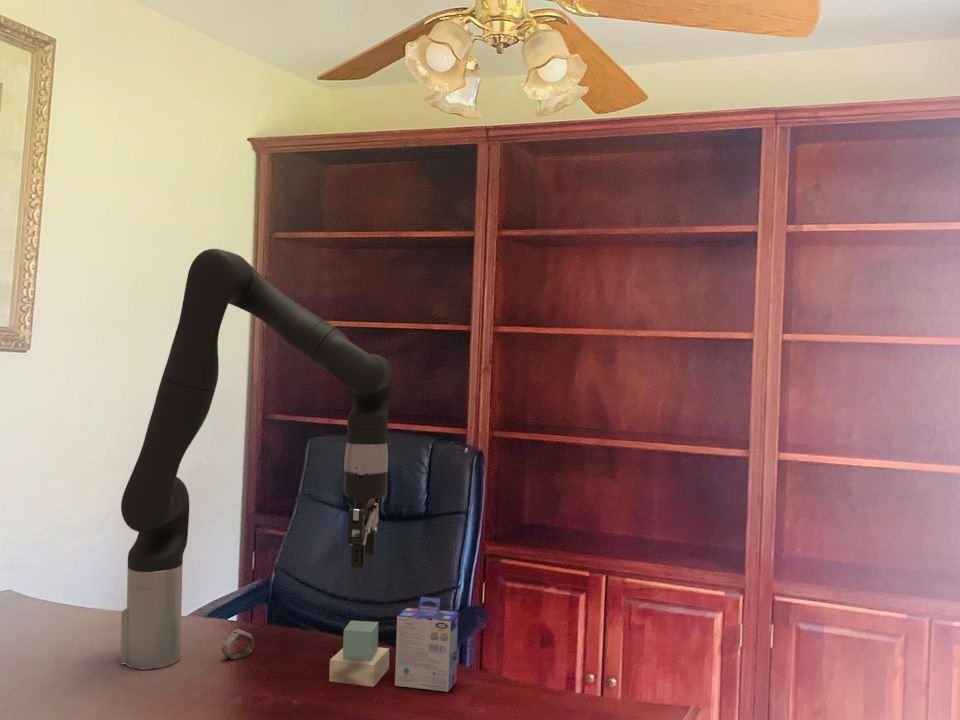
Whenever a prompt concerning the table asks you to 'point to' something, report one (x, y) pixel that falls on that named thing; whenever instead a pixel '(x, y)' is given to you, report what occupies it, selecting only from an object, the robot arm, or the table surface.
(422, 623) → the ink cartridge box
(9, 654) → the table surface
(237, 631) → the wristwatch
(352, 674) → the ash block
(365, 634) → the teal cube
